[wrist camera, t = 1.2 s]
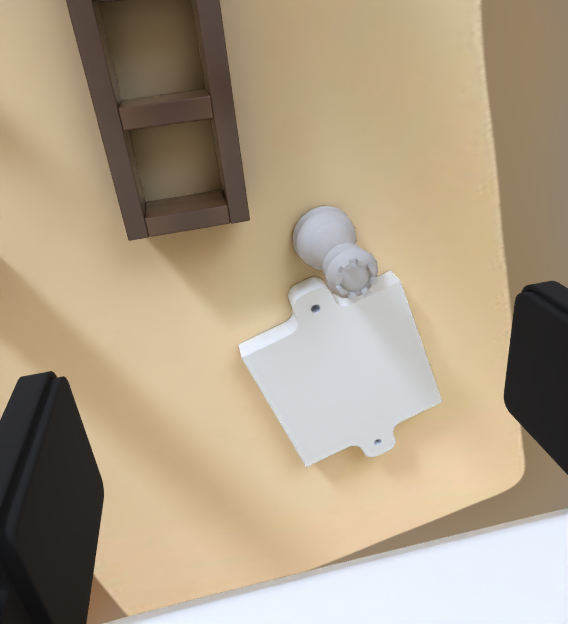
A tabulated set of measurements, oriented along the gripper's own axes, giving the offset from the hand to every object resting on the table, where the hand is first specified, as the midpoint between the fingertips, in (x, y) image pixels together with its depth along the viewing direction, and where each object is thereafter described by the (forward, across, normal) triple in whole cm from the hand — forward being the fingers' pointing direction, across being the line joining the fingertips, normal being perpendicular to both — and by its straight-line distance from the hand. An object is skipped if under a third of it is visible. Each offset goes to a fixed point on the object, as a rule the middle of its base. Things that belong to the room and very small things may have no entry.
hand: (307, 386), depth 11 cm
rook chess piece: (+27, -7, +6) cm, 28 cm away
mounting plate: (+27, -8, +18) cm, 34 cm away
